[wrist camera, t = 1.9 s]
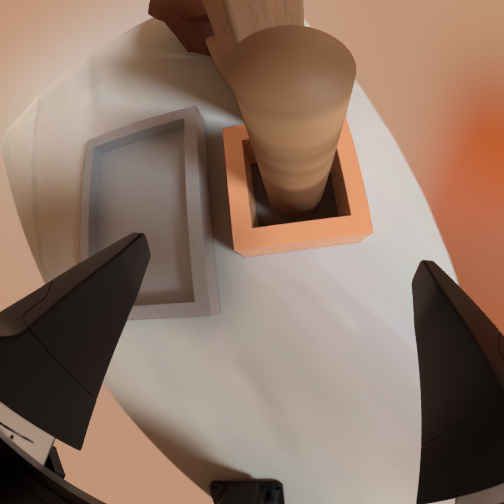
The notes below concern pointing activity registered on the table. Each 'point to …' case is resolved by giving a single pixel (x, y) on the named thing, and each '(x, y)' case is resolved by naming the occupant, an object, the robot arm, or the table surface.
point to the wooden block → (245, 24)
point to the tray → (155, 210)
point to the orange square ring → (299, 233)
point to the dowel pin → (292, 109)
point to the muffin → (185, 22)
